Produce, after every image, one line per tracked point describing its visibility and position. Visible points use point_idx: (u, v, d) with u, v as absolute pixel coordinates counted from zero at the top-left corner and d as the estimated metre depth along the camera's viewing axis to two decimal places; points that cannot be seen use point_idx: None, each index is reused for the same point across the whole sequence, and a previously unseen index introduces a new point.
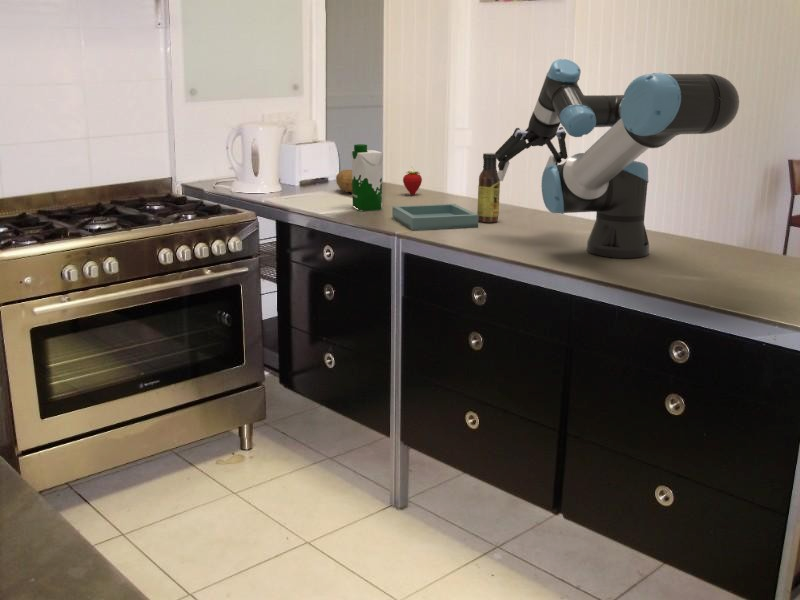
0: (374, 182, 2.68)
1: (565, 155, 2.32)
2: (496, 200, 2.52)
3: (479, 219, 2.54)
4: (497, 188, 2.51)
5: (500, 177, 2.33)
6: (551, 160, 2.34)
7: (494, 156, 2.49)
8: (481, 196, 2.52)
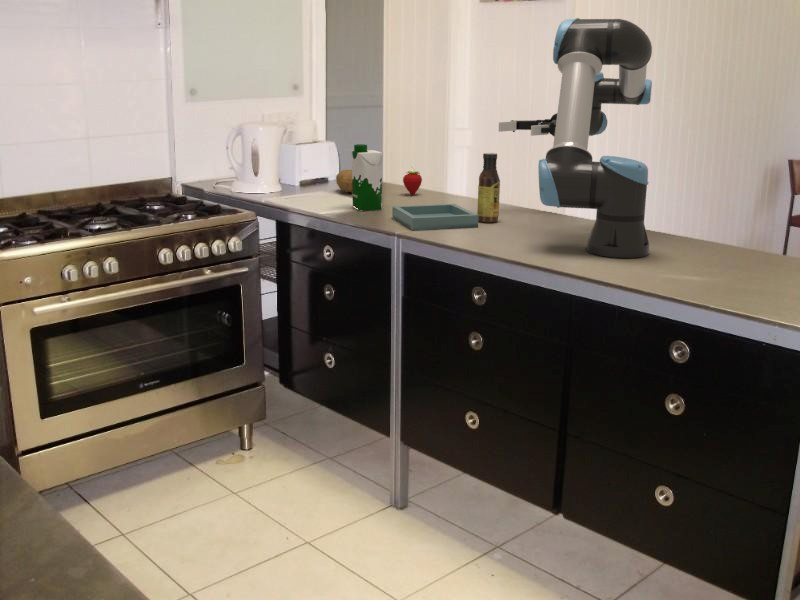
0: (374, 182, 2.68)
1: None
2: (496, 200, 2.52)
3: (479, 219, 2.54)
4: (497, 188, 2.51)
5: None
6: None
7: (494, 156, 2.49)
8: (481, 196, 2.52)
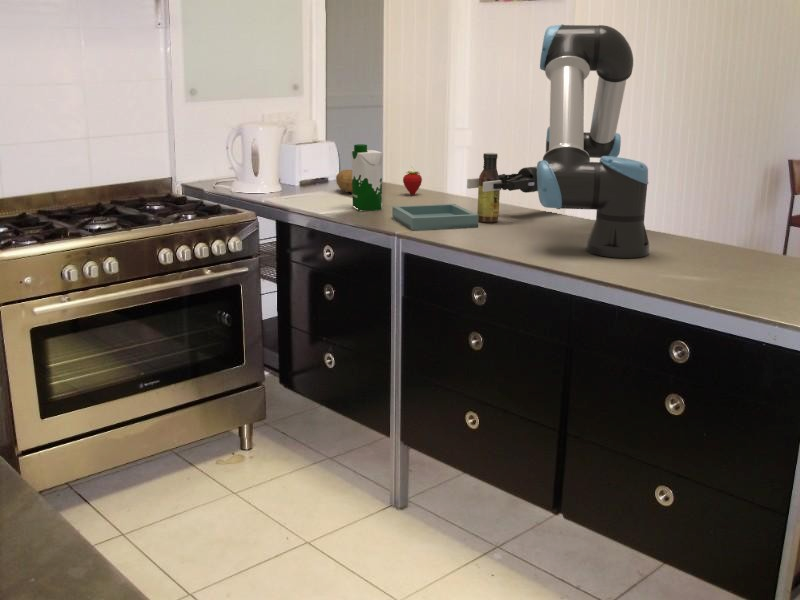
0: (374, 182, 2.68)
1: (512, 181, 2.50)
2: (496, 200, 2.52)
3: (479, 219, 2.54)
4: None
5: None
6: None
7: (494, 156, 2.49)
8: (481, 196, 2.52)
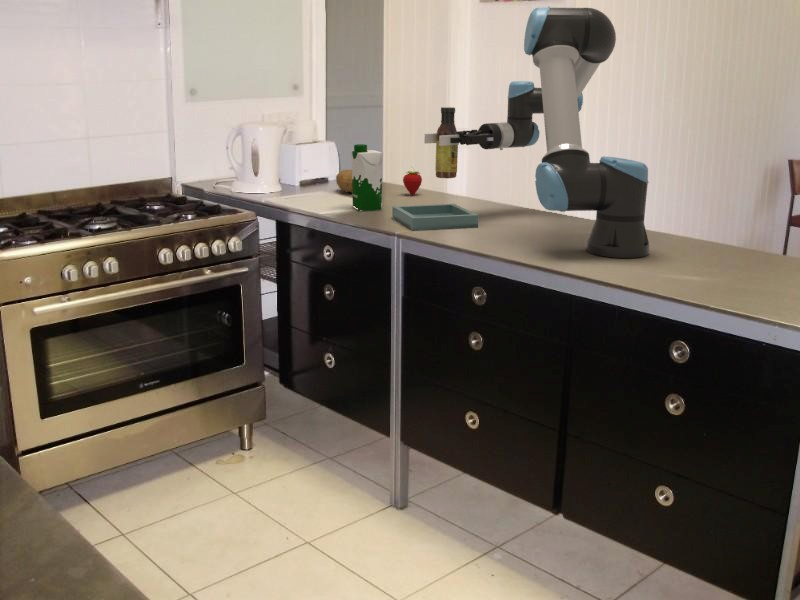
0: (374, 182, 2.68)
1: (470, 135, 2.45)
2: (454, 155, 2.47)
3: (437, 175, 2.49)
4: None
5: None
6: None
7: (452, 110, 2.44)
8: (438, 151, 2.47)
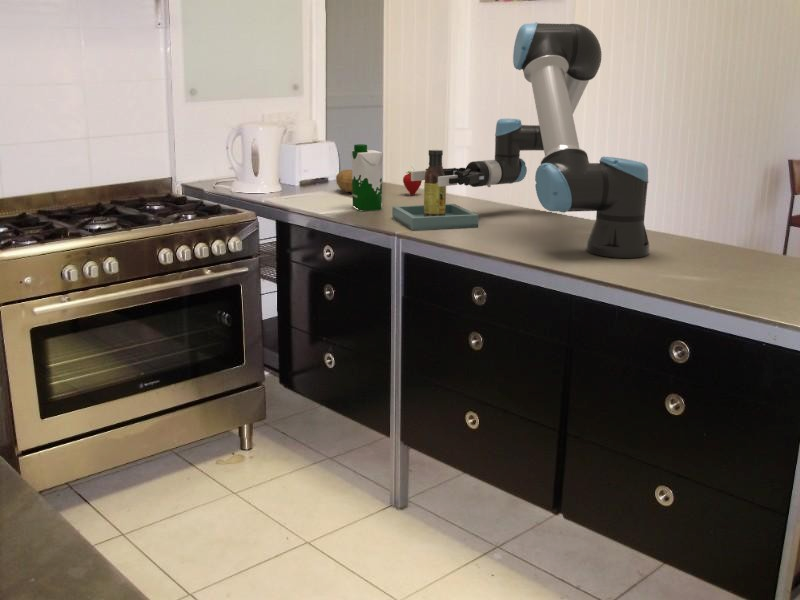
0: (374, 182, 2.68)
1: (468, 176, 2.45)
2: (442, 197, 2.49)
3: (425, 216, 2.51)
4: None
5: None
6: None
7: (439, 152, 2.47)
8: (427, 193, 2.49)
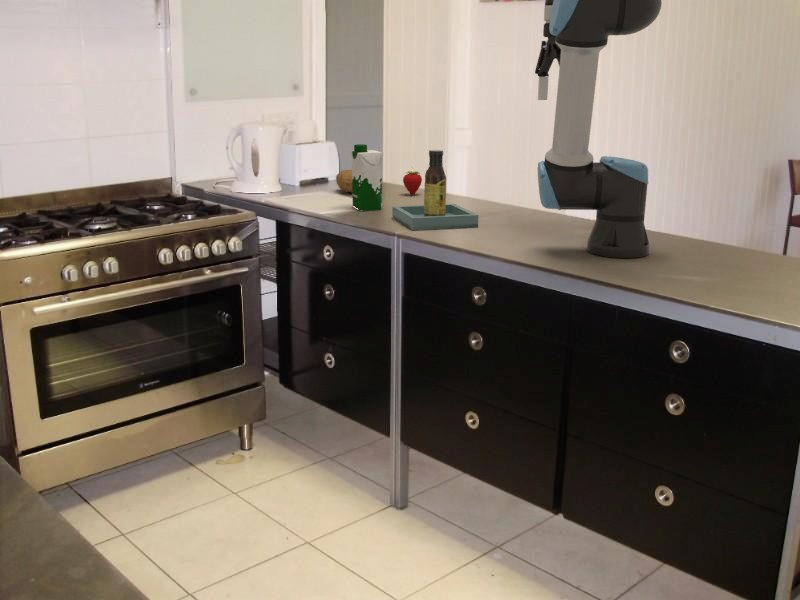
0: (374, 182, 2.68)
1: None
2: (442, 198, 2.49)
3: None
4: (443, 185, 2.48)
5: None
6: None
7: (440, 153, 2.46)
8: (427, 193, 2.49)
